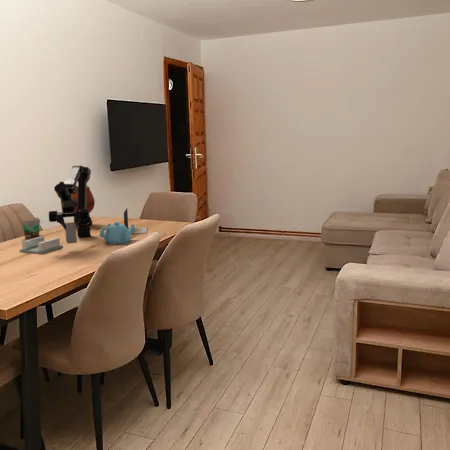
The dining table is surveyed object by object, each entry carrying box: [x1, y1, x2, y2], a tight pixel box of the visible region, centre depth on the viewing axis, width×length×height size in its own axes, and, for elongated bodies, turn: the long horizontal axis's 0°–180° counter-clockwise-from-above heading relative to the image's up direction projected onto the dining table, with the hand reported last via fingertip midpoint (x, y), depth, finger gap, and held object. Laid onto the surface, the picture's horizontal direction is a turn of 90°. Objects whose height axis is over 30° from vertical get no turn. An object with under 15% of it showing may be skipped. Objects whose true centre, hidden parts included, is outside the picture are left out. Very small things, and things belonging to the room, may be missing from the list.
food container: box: [22, 217, 41, 239], centre depth 271 cm, size 12×6×10 cm, turn 168°
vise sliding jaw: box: [21, 236, 45, 250], centre depth 242 cm, size 13×4×4 cm, turn 158°
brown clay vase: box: [71, 185, 96, 229], centre depth 300 cm, size 19×19×25 cm
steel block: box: [64, 221, 78, 244], centre depth 235 cm, size 4×7×9 cm, turn 23°
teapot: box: [99, 221, 135, 245], centre depth 256 cm, size 15×15×11 cm
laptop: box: [123, 208, 149, 235], centre depth 285 cm, size 18×12×13 cm
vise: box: [19, 237, 64, 255], centre depth 240 cm, size 15×14×5 cm
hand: (70, 229), depth 233 cm, fingers closed on steel block, 4 cm apart
